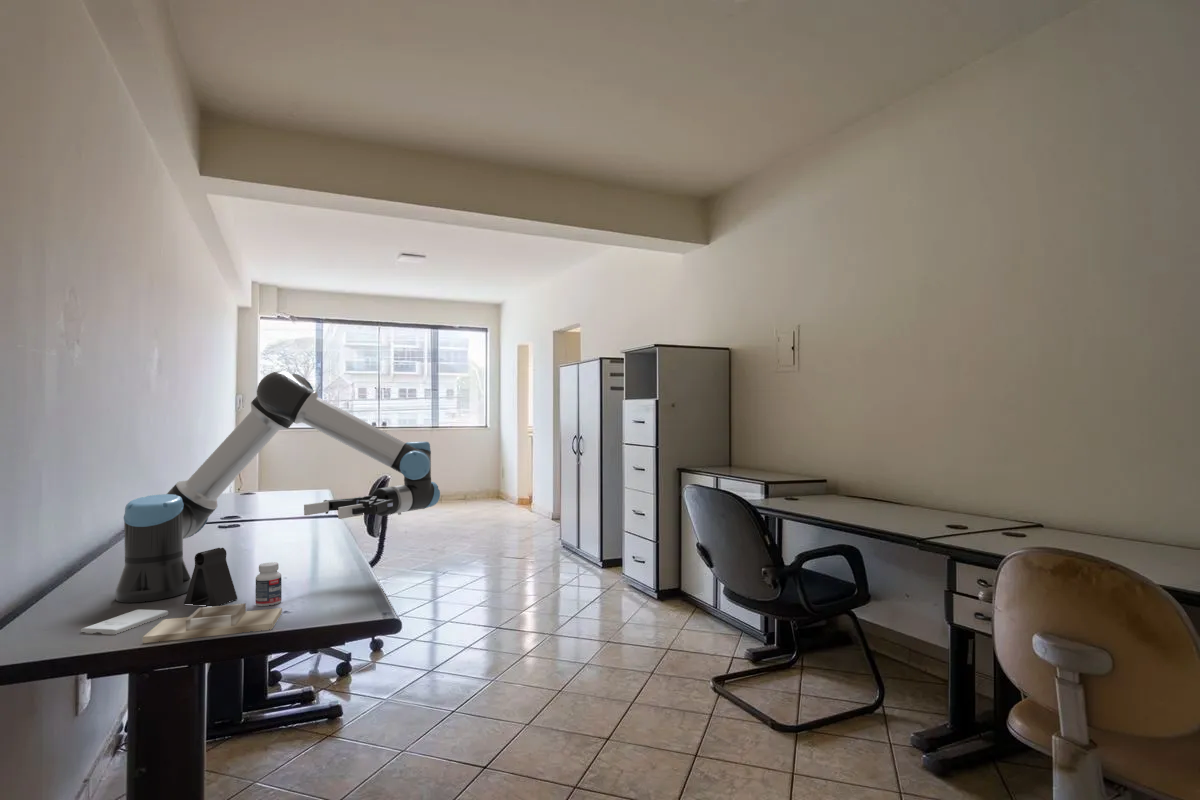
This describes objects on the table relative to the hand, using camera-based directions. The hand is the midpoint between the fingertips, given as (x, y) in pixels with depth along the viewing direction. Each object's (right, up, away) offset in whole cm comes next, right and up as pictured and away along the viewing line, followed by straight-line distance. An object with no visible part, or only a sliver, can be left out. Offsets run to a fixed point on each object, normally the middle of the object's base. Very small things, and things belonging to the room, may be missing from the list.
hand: (321, 511), depth 157 cm
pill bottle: (-7, -19, -12) cm, 23 cm away
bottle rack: (-9, -18, -28) cm, 35 cm away
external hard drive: (-30, -20, -25) cm, 43 cm away
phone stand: (-21, -19, -10) cm, 30 cm away
